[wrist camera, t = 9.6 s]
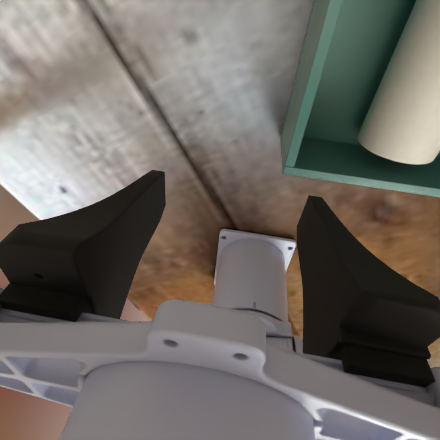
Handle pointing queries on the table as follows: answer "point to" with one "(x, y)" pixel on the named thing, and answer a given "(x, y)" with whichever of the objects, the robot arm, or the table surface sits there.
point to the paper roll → (409, 94)
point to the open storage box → (347, 97)
